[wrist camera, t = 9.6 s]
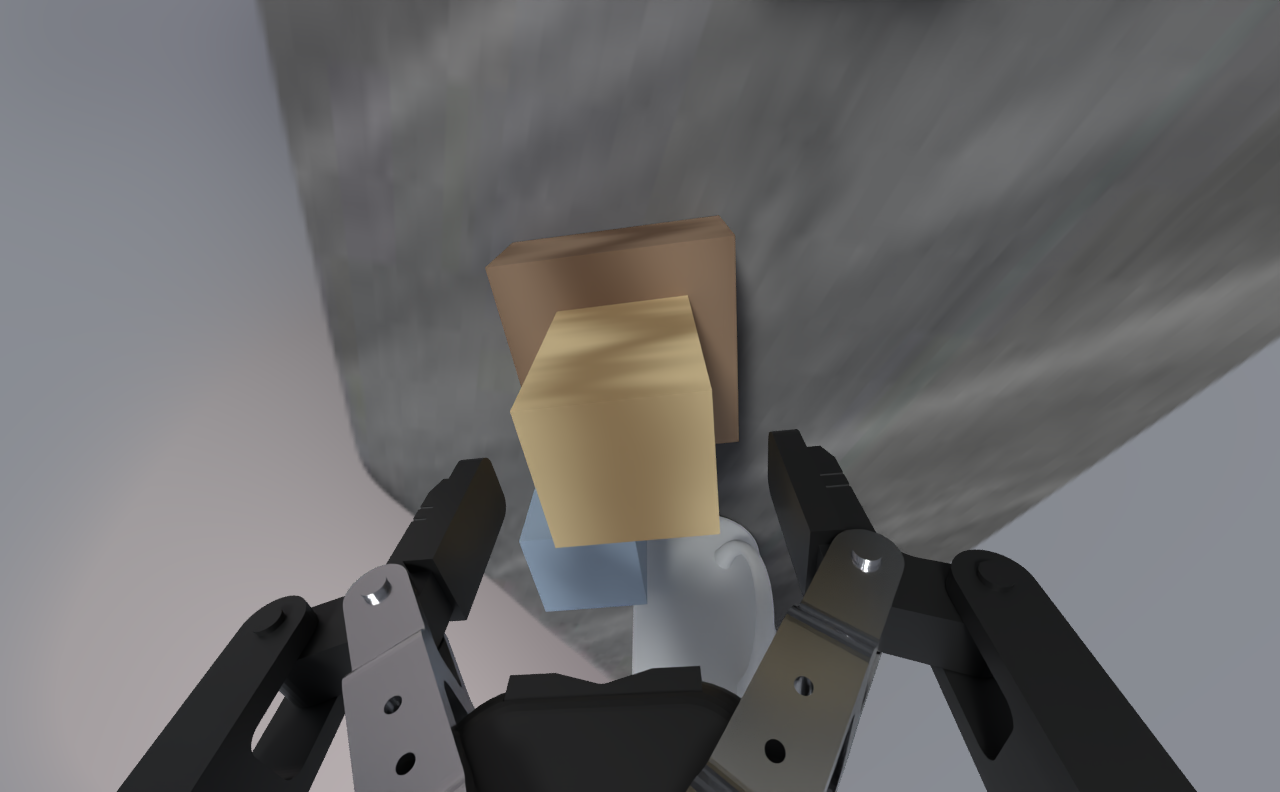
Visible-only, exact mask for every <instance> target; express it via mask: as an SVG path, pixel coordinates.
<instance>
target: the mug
mask: <svg viewBox="0 0 1280 792" xmlns="http://www.w3.org/2000/svg"><path fill="white" fill-rule="evenodd" d="M719 521H720V534H715V535H703V536H692V537H680V538H668V539H656V540H647V604H645V605H634V610H633V656H632V675H633V674H636V673H639V672H642V671H645V670H648V669H651V668H666V667H686V666H700V668H701V677H702V681H704V682H708V683H712V684H715V685H717V686H720V687H722V688H725V689H727V690H729V691H730V692H732V693H734V694H736V695H737V696H739V697H740V698H742V697H743V695H744V693H745V691H746V689H747V687H748V685H749V683H750V682H751V680H752V678H753V676H754V674H755V672H756V670H757V668H758V666H759V665H760V663H761V661H762V659H763V657H764V655H765V653H766V651H767V649H768V648H769V646H770V644H771V642H772V640H773V638H774V636H775V634H776V629H775V625H774V605H773V596H772V589H771V584H770V580H769V576H768V572H767V569H766V567H765V564H764V562H763V560H762V558H761V556H760V554H759V548H758V545H757V543H756V541H755V539H754V538H753V536H752V535H751V534H750V532H749V531H748V530H746V529H745V528H744V527H743V526H741V525H740V524H738V523H736V522H734V521H732V520H730V519H727V518H724V517H721V516H719Z"/></svg>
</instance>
